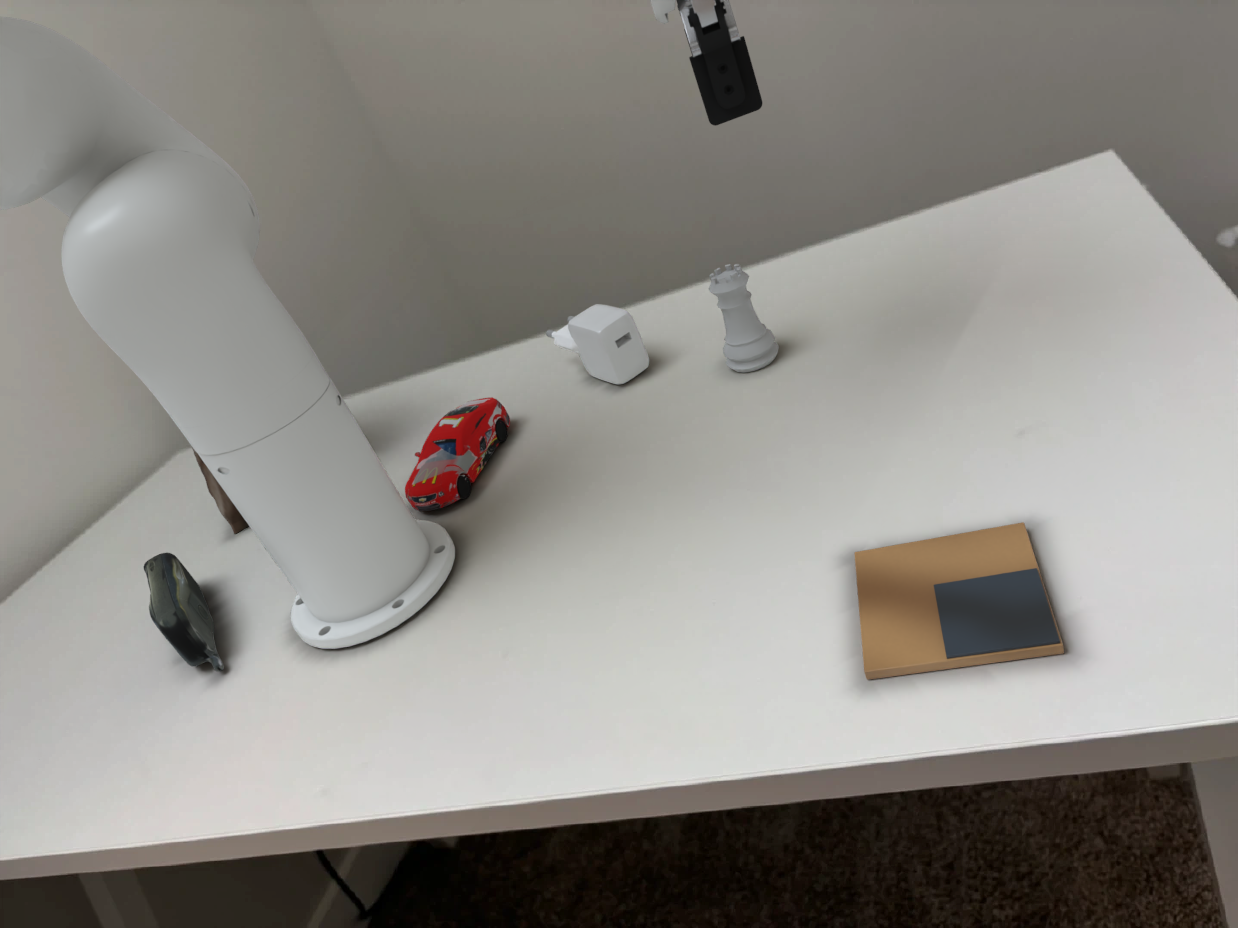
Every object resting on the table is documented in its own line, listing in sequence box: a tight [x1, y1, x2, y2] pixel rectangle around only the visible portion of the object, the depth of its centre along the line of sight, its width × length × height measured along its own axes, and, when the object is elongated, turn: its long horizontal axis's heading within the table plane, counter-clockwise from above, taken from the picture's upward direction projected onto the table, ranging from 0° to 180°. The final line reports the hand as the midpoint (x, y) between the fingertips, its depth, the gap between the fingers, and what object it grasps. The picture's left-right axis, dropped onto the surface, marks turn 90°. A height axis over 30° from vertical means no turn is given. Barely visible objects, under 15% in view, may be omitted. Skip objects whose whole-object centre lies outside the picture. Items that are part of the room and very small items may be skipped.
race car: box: [404, 396, 511, 512], centre depth 79 cm, size 13×5×4 cm, turn 161°
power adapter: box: [545, 303, 650, 385], centre depth 85 cm, size 11×5×6 cm, turn 36°
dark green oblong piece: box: [143, 552, 225, 672], centre depth 72 cm, size 5×3×15 cm
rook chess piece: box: [708, 263, 780, 373], centre depth 75 cm, size 4×4×8 cm
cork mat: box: [853, 521, 1065, 681], centre depth 48 cm, size 9×9×1 cm
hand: (731, 97), depth 59 cm, fingers open, 9 cm apart
